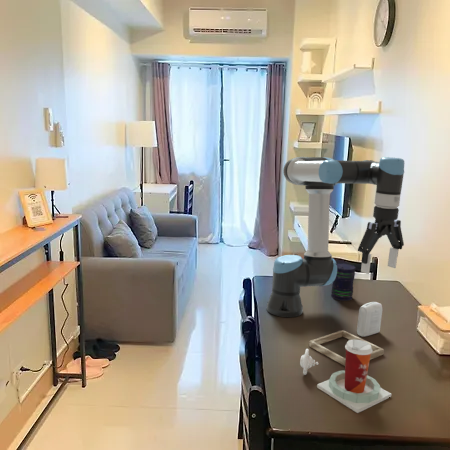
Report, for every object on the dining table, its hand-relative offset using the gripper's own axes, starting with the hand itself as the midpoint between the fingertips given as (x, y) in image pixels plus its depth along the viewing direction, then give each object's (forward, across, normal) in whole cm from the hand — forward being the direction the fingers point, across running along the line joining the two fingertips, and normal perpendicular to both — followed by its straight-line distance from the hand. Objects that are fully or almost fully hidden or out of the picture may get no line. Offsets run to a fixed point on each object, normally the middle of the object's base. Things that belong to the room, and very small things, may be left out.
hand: (378, 269), depth 152 cm
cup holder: (+31, -22, -13) cm, 40 cm away
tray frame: (+31, -4, +6) cm, 32 cm away
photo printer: (+31, +15, +12) cm, 37 cm away
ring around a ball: (+31, -27, +1) cm, 41 cm away
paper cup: (+30, -22, -13) cm, 39 cm away
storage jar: (+32, +36, +45) cm, 66 cm away
